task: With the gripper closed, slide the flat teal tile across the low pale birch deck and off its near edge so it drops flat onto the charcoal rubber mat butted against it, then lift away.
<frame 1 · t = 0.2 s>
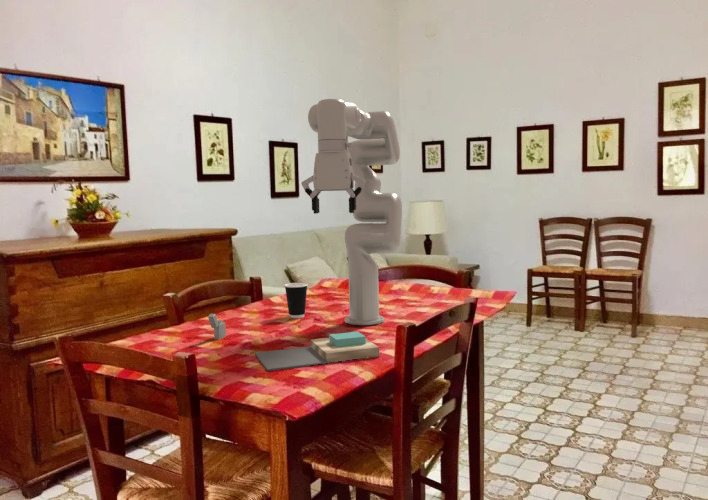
hand: (334, 213, 162), 37 cm above the table, tool pointing down, fingers open, 9 cm apart
rubber mat: (290, 359, 157), on the table
birch deck: (344, 352, 161), on the table
dixie cup: (297, 317, 208), on the table
teal tile: (347, 342, 161), point 2 cm above the table, touching birch deck
lighter: (217, 339, 179), on the table
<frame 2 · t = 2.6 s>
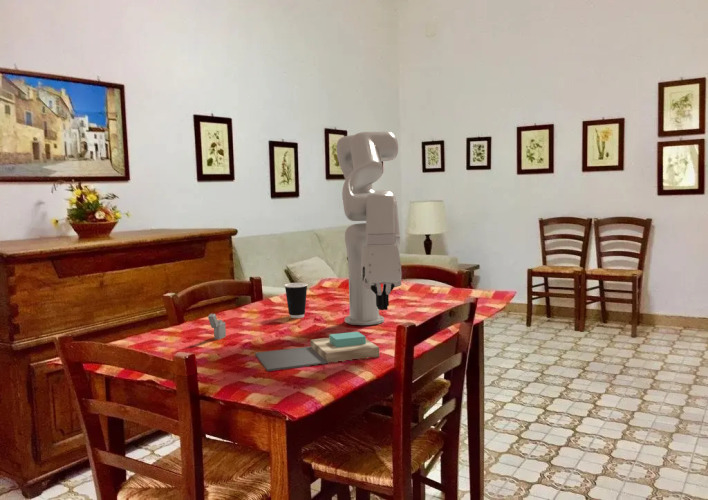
hand: (382, 309, 163), 11 cm above the table, tool pointing down, fingers closed
nothing on the table moved.
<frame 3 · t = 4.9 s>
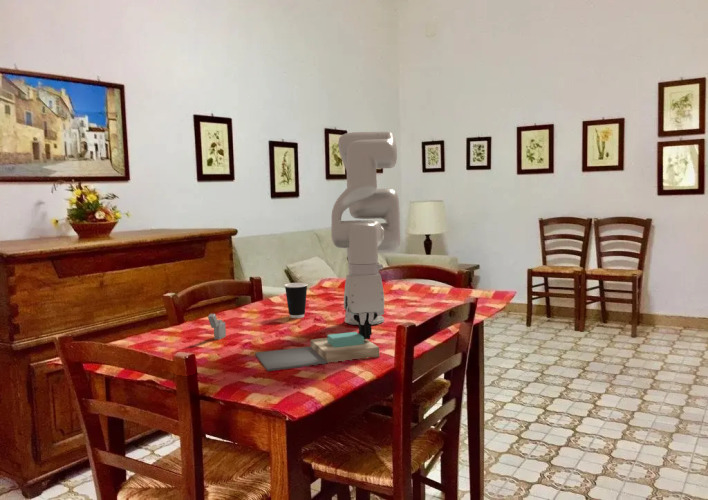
hand: (365, 338, 163), 3 cm above the table, tool pointing down, fingers closed
teal tile: (345, 343, 161), point 2 cm above the table, touching birch deck, gripper
everything else where it was.
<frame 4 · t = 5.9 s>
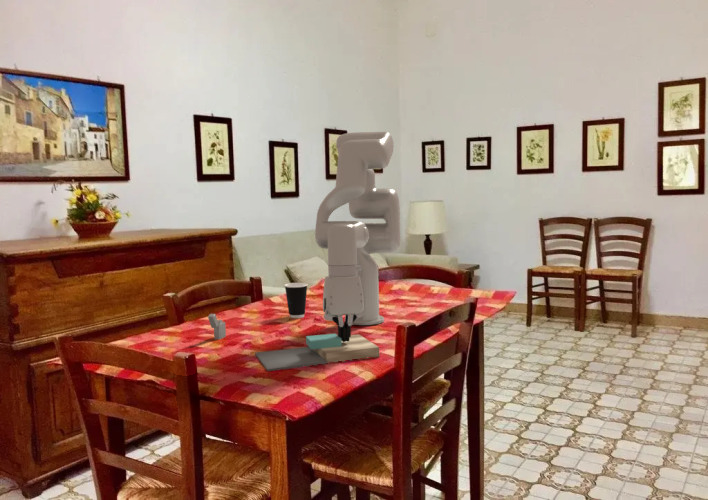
hand: (344, 340, 161), 3 cm above the table, tool pointing down, fingers closed
teal tile: (323, 344, 160), point 3 cm above the table, touching gripper
everything else where it was.
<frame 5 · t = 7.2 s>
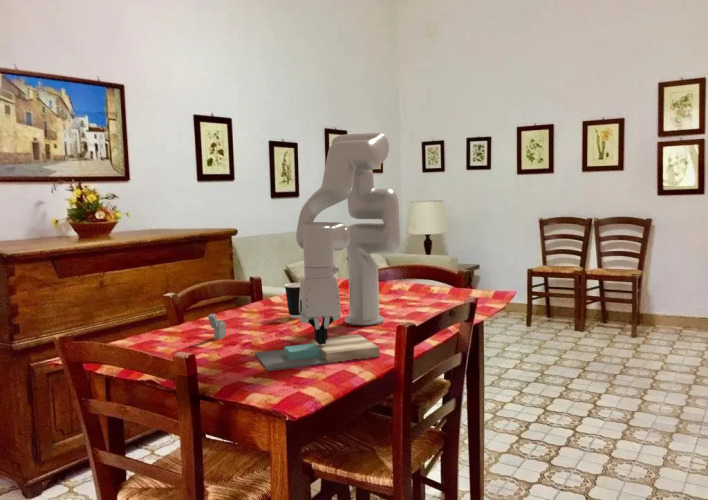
hand: (321, 343, 159), 3 cm above the table, tool pointing down, fingers closed
teal tile: (302, 355, 158), resting on rubber mat
everything else where it was.
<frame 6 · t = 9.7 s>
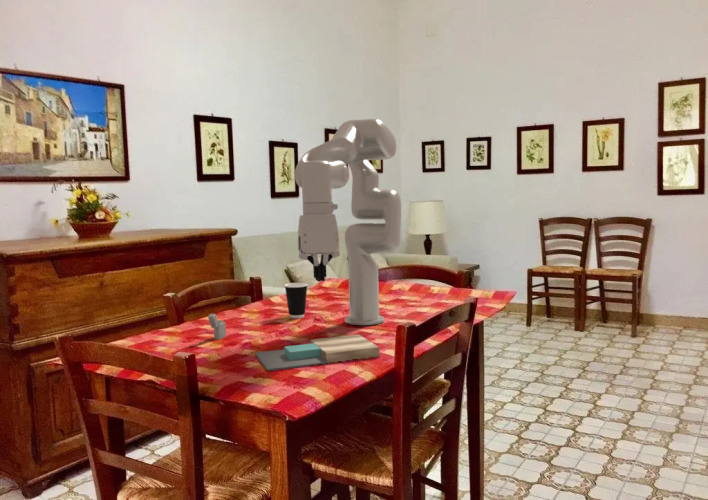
hand: (320, 280, 159), 19 cm above the table, tool pointing down, fingers closed
nothing on the table moved.
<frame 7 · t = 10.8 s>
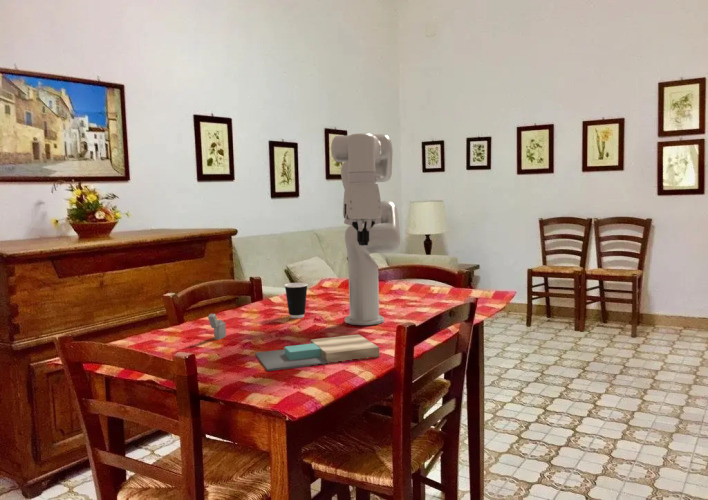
hand: (363, 244, 172), 27 cm above the table, tool pointing down, fingers closed
nothing on the table moved.
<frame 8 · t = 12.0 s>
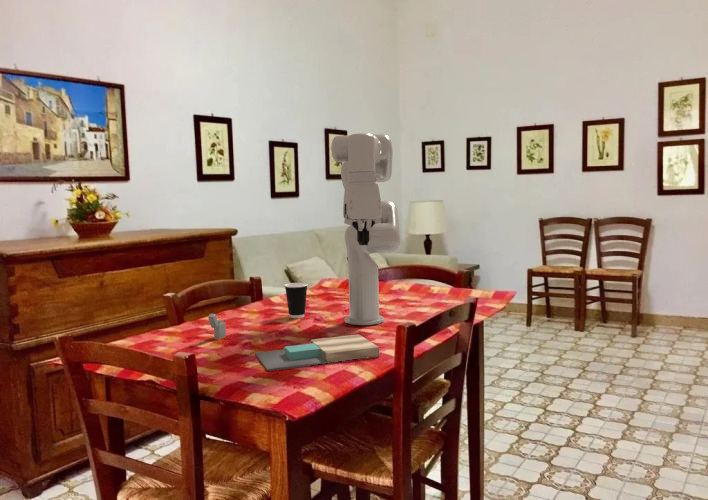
hand: (363, 244, 172), 27 cm above the table, tool pointing down, fingers closed
nothing on the table moved.
at the end: teal tile point 0.5 cm above the table; teal tile inside the target area on the rubber mat (3.3 cm from its centre), point 0.5 cm above the rubber mat's base; teal tile tilted 0° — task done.
